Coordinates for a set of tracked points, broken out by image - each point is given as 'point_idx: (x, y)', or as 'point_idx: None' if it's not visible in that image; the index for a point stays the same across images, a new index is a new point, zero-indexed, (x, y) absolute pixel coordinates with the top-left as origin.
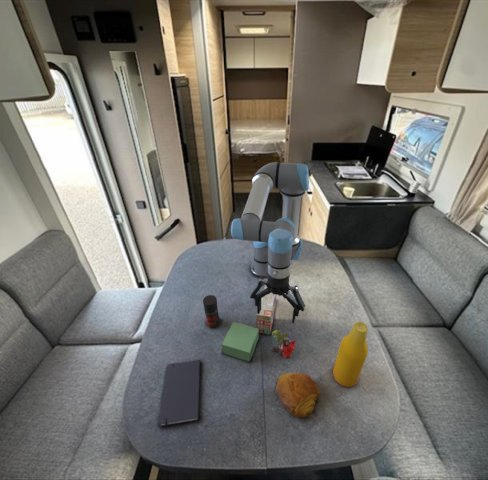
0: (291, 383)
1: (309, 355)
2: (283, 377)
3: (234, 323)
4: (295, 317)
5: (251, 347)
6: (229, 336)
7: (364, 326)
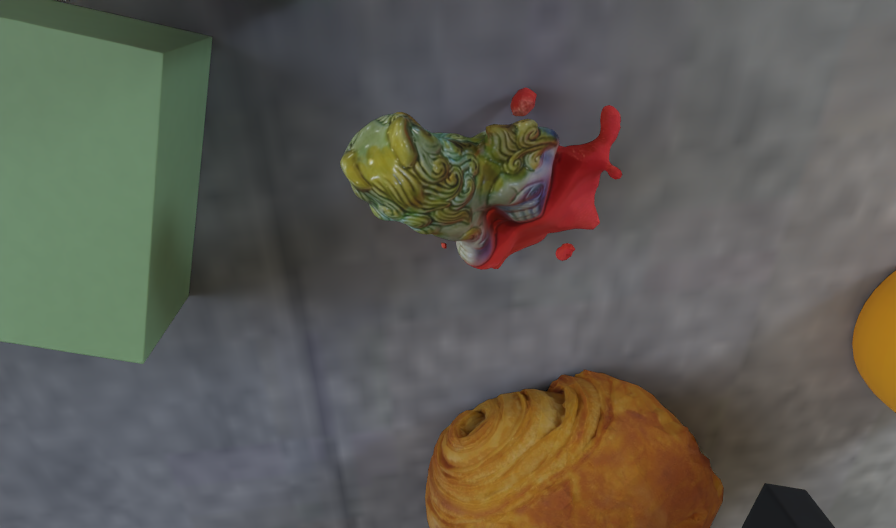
0: None
1: (710, 185)
2: (480, 494)
3: None
4: (819, 514)
5: (146, 309)
6: None
7: None
